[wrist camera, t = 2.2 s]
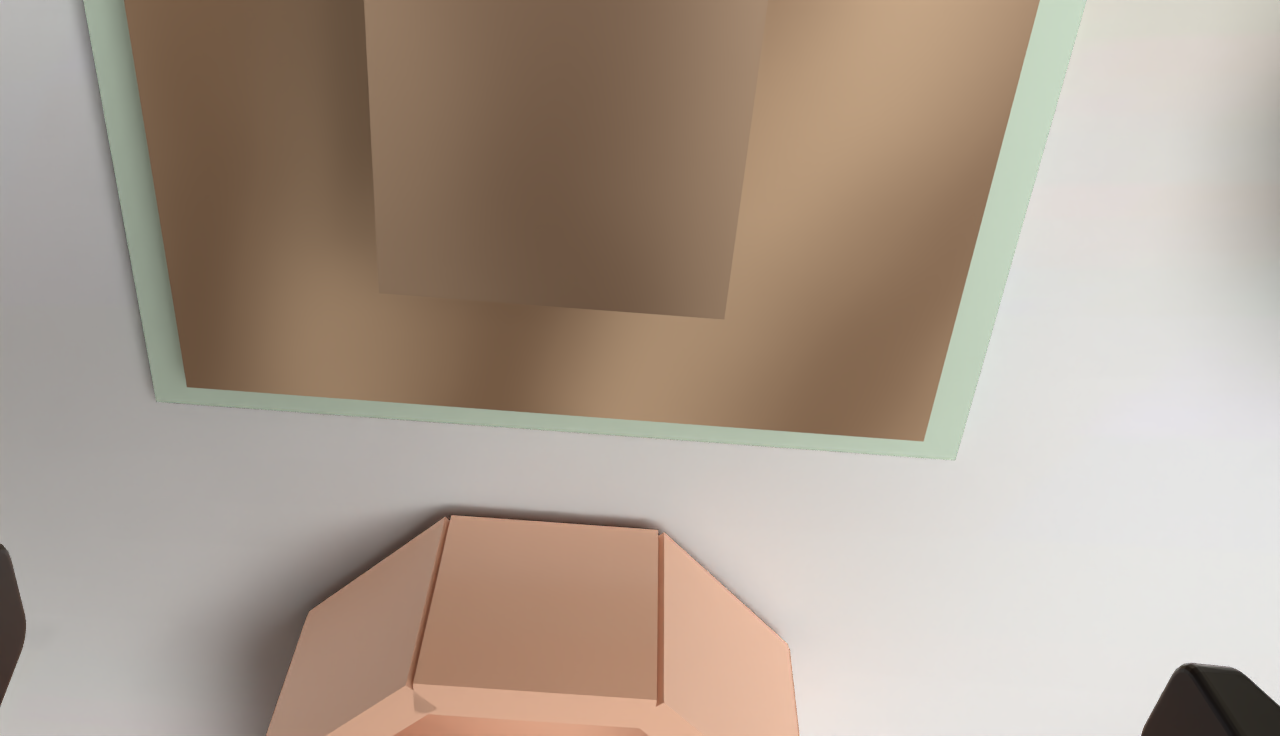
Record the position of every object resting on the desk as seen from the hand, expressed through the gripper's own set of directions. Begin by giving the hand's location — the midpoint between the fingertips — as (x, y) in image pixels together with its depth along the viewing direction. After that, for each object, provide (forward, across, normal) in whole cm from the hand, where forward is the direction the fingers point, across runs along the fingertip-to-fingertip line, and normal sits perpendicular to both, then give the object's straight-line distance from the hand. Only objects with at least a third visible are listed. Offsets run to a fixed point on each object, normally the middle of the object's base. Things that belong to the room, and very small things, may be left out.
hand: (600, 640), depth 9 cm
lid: (+13, +1, 0) cm, 13 cm away
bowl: (+13, 0, +16) cm, 20 cm away
